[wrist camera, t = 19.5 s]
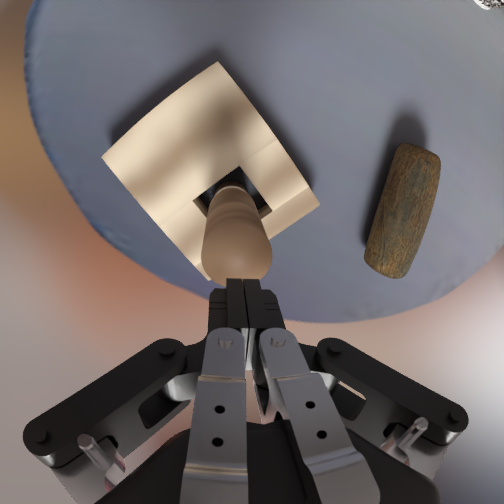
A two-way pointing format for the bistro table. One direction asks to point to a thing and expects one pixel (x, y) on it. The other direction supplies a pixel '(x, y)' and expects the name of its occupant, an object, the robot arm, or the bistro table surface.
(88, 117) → the bistro table surface
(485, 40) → the bistro table surface
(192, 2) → the bistro table surface
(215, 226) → the peg
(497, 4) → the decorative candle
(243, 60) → the bistro table surface
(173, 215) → the board
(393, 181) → the stone weight
